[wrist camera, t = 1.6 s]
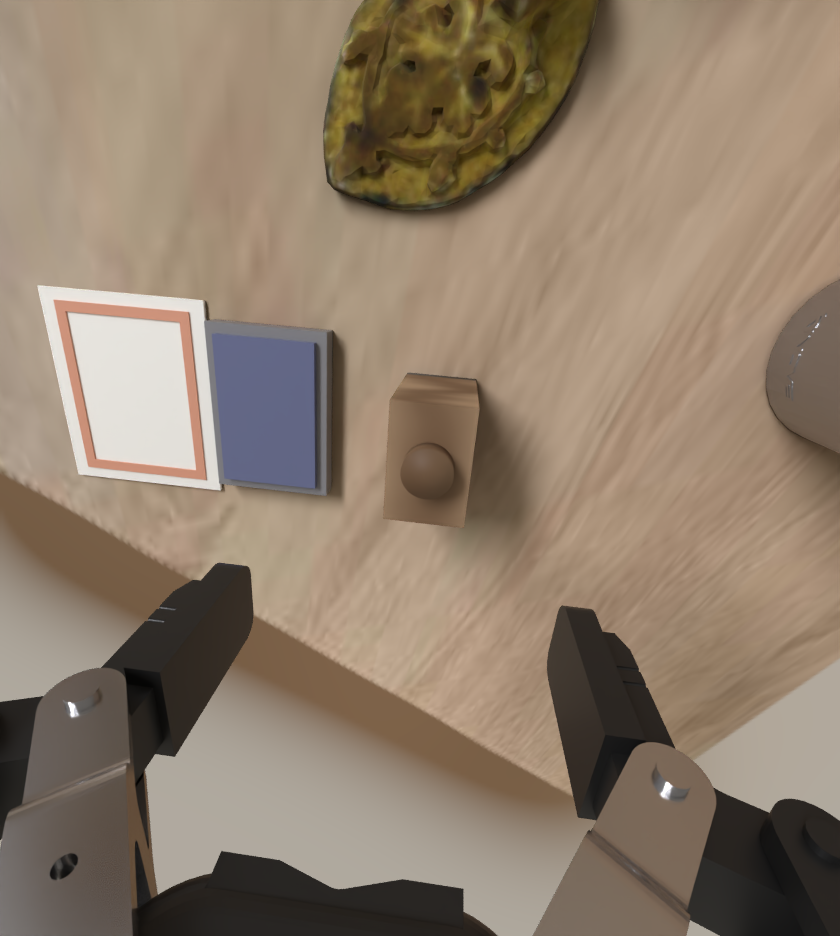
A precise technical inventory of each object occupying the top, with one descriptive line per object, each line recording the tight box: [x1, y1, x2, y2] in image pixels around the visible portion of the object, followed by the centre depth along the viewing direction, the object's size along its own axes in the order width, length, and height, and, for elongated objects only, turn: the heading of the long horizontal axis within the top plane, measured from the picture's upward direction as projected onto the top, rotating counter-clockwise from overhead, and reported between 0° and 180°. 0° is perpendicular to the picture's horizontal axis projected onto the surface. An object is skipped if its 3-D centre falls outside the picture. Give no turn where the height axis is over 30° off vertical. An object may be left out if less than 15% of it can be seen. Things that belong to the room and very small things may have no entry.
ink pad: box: [204, 319, 333, 496], centre depth 28 cm, size 7×10×2 cm
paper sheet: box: [37, 285, 222, 490], centre depth 29 cm, size 10×12×1 cm
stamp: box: [383, 373, 480, 528], centre depth 24 cm, size 4×6×8 cm, turn 175°
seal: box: [323, 0, 599, 210], centre depth 20 cm, size 9×5×15 cm
